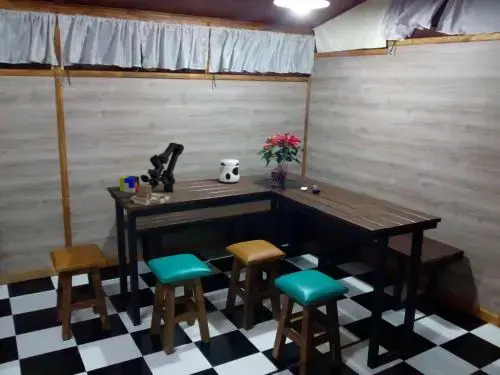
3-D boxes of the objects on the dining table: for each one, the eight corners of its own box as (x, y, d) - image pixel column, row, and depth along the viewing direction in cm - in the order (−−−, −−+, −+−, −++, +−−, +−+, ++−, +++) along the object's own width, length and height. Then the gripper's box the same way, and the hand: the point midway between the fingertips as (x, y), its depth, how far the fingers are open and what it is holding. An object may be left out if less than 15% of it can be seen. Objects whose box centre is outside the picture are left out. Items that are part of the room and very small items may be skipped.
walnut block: (143, 197, 291) (143, 184, 289) (151, 198, 290) (151, 185, 288) (138, 199, 286) (138, 186, 284) (146, 200, 284) (146, 187, 282)
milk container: (214, 181, 360) (214, 159, 356) (230, 178, 372) (230, 158, 368) (227, 185, 348) (228, 162, 344) (243, 182, 359) (244, 161, 356)
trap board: (143, 194, 307) (143, 189, 307) (172, 197, 301) (172, 192, 300) (125, 202, 285) (125, 196, 285) (155, 206, 279) (155, 200, 278)
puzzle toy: (133, 192, 312) (132, 179, 310) (120, 191, 314) (119, 177, 311) (139, 189, 321) (139, 176, 319) (126, 188, 323) (126, 175, 321)
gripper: (141, 163, 296) (132, 182, 289) (165, 165, 291) (158, 185, 284) (147, 172, 306) (139, 191, 298) (171, 174, 301) (164, 194, 293)
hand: (149, 190), depth 293 cm, fingers closed
